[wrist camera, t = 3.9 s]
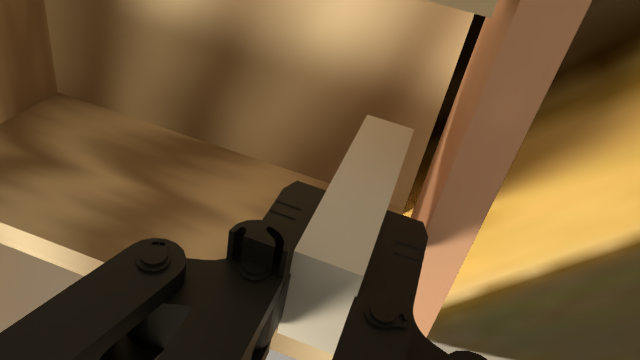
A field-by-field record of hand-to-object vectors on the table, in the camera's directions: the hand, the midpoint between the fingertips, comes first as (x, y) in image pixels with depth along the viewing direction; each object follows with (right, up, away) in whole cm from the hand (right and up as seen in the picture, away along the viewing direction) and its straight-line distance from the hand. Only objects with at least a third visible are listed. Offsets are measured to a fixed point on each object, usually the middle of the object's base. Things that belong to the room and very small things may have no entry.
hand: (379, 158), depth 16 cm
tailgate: (+4, +2, +4) cm, 6 cm away
